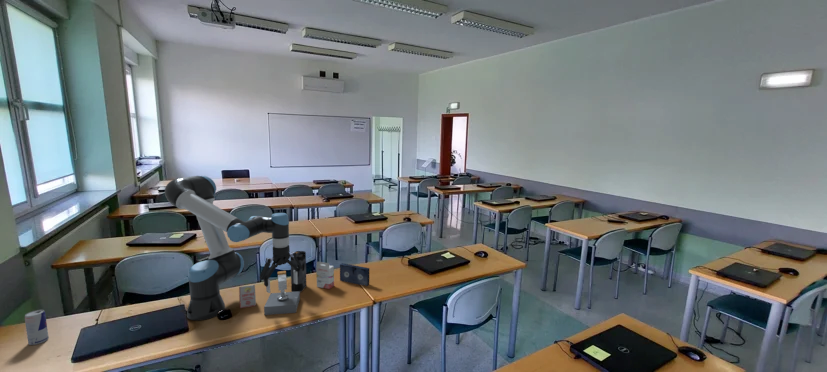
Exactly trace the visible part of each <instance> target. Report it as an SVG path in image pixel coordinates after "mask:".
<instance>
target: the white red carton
mask: <svg viewBox="0 0 827 372" xmlns="http://www.w3.org/2000/svg"><path fill="white" fill-rule="evenodd" d="M238 288H239V289H238V295H239V296H238V297H239V298H238V299H239V309H242V308H243V309H245V308H250V307H256V303H257V299H256V285H255V284H251V285H245V286H239V287H238Z"/></svg>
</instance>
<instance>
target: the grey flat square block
mask: <svg viewBox="0 0 827 372" xmlns="http://www.w3.org/2000/svg"><path fill="white" fill-rule="evenodd" d="M285 294H287V295H288V299H286V300H278V299H277V297H278V296H279V295H281V292H272V293H271V292H270V293H269V296H268V298H267V300H266V302H265V305H263V311H264V312H263V313H264V316H270V315H281V314H283V315H284V314H295V313H297V311H298V307H299V303H300V299H301V292H300V291H298V292H292V291H288V292H286V291H285Z"/></svg>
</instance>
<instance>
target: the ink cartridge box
mask: <svg viewBox="0 0 827 372" xmlns="http://www.w3.org/2000/svg"><path fill="white" fill-rule="evenodd" d="M315 268H316V270H315V272H316V287H317V288H322V289H326V290H327V289H328V290H330V289H331V288H333V287H334V286H335V266H334V265H330V263H329V262H323V261H316V267H315Z"/></svg>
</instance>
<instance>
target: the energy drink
mask: <svg viewBox="0 0 827 372" xmlns="http://www.w3.org/2000/svg"><path fill="white" fill-rule="evenodd" d="M24 324H25V329H26V330H25V331H26V336H27V337H26V338H27V343H28V344H27V345H30V346H36V345H41V344H43V343H45V342H47V341H48V339H49V332H48V330H49V329H48V323H47V316H46V311H45V310H44V309H37V310H32V311H29V312H27V313H25V314H24Z"/></svg>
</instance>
